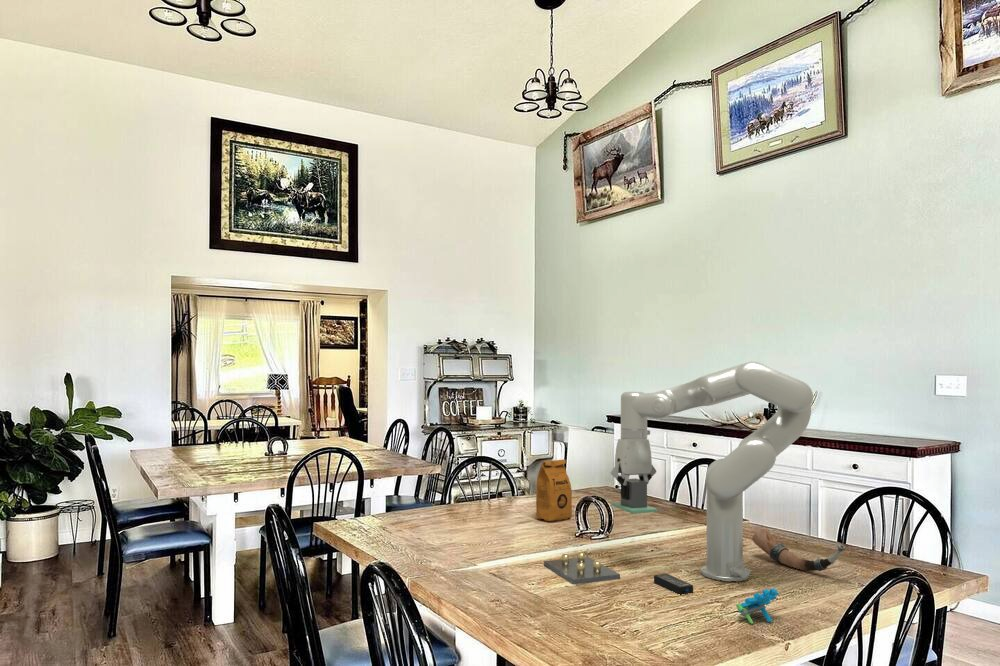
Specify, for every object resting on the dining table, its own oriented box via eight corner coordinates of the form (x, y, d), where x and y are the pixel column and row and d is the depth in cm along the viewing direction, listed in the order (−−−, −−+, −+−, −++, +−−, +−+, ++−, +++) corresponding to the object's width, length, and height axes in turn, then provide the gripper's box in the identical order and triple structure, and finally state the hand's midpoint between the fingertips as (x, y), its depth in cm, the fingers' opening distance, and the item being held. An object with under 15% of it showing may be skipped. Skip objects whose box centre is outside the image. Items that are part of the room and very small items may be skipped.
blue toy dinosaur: (763, 602, 163) (782, 581, 157) (778, 626, 159) (797, 605, 153) (725, 613, 160) (742, 593, 153) (739, 638, 156) (757, 618, 149)
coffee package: (575, 520, 255) (576, 460, 256) (548, 524, 248) (548, 462, 249) (559, 515, 263) (560, 457, 264) (532, 518, 257) (533, 459, 258)
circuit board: (657, 511, 194) (657, 483, 194) (632, 513, 191) (632, 484, 191) (634, 503, 205) (634, 476, 205) (611, 505, 202) (611, 477, 203)
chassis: (620, 578, 185) (620, 564, 185) (573, 584, 180) (573, 569, 180) (587, 560, 202) (587, 548, 202) (544, 565, 197) (544, 552, 197)
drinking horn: (761, 554, 211) (761, 521, 212) (851, 582, 185) (851, 544, 185) (748, 556, 208) (748, 523, 209) (838, 585, 182) (837, 546, 183)
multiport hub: (666, 581, 184) (666, 573, 184) (694, 594, 174) (693, 585, 174) (653, 583, 182) (653, 575, 183) (679, 596, 172) (679, 587, 173)
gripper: (651, 432, 206) (651, 494, 205) (601, 434, 199) (601, 497, 198) (666, 435, 199) (666, 498, 198) (615, 436, 192) (615, 502, 192)
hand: (633, 497), depth 198 cm, fingers closed on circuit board, 5 cm apart
